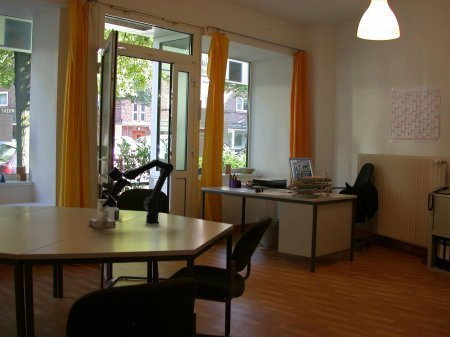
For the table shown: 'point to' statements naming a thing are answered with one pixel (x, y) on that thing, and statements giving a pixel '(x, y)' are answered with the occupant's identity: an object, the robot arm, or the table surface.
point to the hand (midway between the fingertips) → (100, 205)
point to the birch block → (102, 210)
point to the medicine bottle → (113, 211)
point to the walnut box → (102, 223)
